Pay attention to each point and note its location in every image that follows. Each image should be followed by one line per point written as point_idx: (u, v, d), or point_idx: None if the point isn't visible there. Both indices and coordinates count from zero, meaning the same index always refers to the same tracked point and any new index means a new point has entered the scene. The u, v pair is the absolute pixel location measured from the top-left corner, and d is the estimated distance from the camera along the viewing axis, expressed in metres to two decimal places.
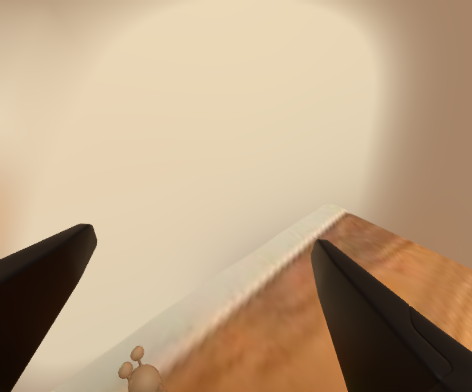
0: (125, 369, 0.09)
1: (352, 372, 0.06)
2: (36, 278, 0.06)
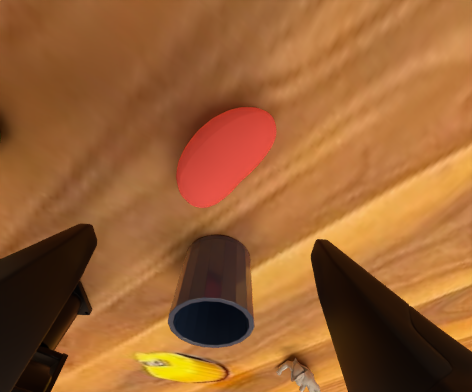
0: None
1: (352, 372, 0.06)
2: (36, 278, 0.06)
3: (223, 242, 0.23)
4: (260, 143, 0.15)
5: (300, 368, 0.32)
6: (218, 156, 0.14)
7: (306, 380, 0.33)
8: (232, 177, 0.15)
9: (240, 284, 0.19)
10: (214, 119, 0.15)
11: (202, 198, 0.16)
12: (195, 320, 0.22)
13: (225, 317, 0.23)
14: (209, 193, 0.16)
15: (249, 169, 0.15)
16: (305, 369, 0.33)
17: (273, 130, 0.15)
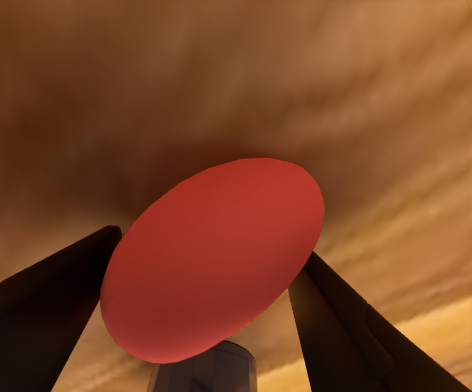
0: None
1: (314, 370, 0.06)
2: (73, 280, 0.06)
3: (212, 358, 0.14)
4: (293, 263, 0.06)
5: None
6: (182, 312, 0.05)
7: None
8: (222, 339, 0.06)
9: None
10: (175, 197, 0.06)
11: None
12: None
13: None
14: (168, 361, 0.07)
15: (263, 311, 0.06)
16: None
17: (321, 218, 0.06)
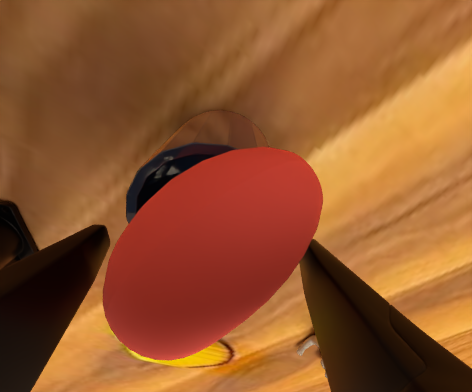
0: None
1: (334, 371, 0.06)
2: (54, 279, 0.06)
3: (230, 114, 0.14)
4: (291, 251, 0.05)
5: None
6: (179, 305, 0.05)
7: None
8: (223, 332, 0.06)
9: None
10: (167, 191, 0.06)
11: None
12: None
13: None
14: (173, 358, 0.07)
15: (264, 302, 0.06)
16: None
17: (319, 204, 0.06)
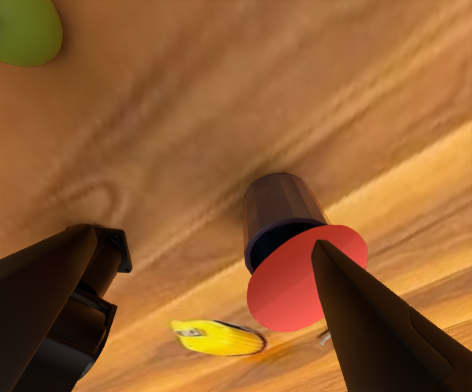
0: None
1: (352, 372, 0.06)
2: (36, 278, 0.06)
3: (291, 178, 0.21)
4: None
5: None
6: (313, 304, 0.12)
7: None
8: (323, 316, 0.13)
9: (323, 212, 0.17)
10: (300, 253, 0.13)
11: (284, 331, 0.14)
12: (262, 261, 0.20)
13: None
14: (294, 330, 0.14)
15: None
16: None
17: None
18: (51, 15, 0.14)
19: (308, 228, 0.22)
